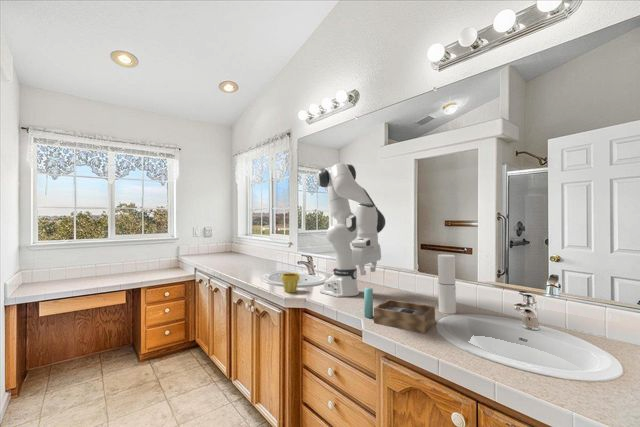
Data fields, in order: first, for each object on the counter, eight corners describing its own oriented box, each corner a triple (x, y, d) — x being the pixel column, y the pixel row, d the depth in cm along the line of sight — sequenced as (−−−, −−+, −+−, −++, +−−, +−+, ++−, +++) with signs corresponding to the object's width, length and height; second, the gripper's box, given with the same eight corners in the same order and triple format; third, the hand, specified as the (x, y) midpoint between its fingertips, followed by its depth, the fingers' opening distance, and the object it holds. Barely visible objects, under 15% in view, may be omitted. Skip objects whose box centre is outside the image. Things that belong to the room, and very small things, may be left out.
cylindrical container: (435, 310, 137) (434, 255, 137) (447, 308, 140) (446, 254, 140) (447, 314, 131) (446, 256, 131) (459, 312, 133) (458, 255, 134)
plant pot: (303, 291, 175) (302, 274, 175) (288, 294, 168) (288, 277, 168) (292, 288, 183) (292, 272, 183) (278, 291, 176) (278, 274, 176)
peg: (363, 317, 129) (362, 289, 129) (366, 315, 132) (366, 287, 132) (370, 318, 127) (370, 290, 127) (374, 316, 129) (374, 288, 130)
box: (373, 322, 122) (373, 307, 122) (388, 312, 134) (388, 299, 134) (424, 333, 110) (423, 316, 110) (435, 321, 122) (434, 306, 122)
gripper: (371, 239, 140) (372, 269, 139) (349, 242, 123) (350, 276, 123) (384, 239, 136) (384, 270, 136) (363, 242, 119) (364, 278, 119)
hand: (368, 273), depth 129 cm, fingers open, 8 cm apart
